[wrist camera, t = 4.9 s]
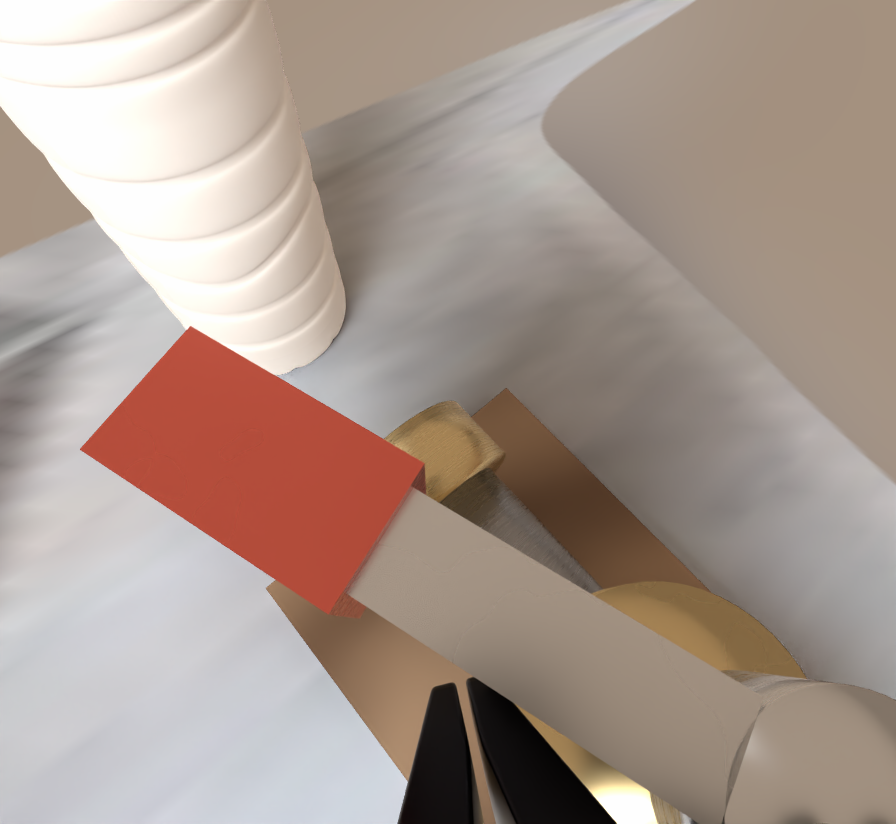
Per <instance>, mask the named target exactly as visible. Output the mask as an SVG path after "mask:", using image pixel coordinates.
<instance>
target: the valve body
mask: <svg viewBox="0 0 896 824" xmlns="http://www.w3.org/2000/svg"><path fill="white" fill-rule="evenodd" d="M384 440H386V441H388V442H389V443H391V444H393V445H394V446H396V447H398V448H399V449H401V450H403V451H405V452H406V453H408V454H410V455H411V456H413V457H415V458H416V459H418V460H420V461H422V462H423V463H425V479H426V495H427V496H428V497H430V498H432V499H433V500H435V501H437V502H438V503H440V504H442V505H443V506H445V507H447V508H448V509H450V510H452V511H453V512H455V513H457V514H458V515H460V516H462V517H463V518H465V519H467V520H468V521H470V522H472V523H473V524H475V525H477V526H478V527H480V528H482V529H483V530H485V531H487V532H488V533H490V534H492V535H493V536H495V537H497V538H499V539H500V540H502V541H504V542H505V543H507V544H509V545H510V546H512V547H514V548H515V549H517V550H519V551H520V552H522V553H524V554H525V555H527V556H529V557H530V558H532V559H534V560H535V561H537V562H539V563H540V564H542V565H544V566H545V567H547V568H549V569H550V570H552V571H554V572H555V573H557V574H559V575H560V576H562V577H564V578H565V579H567V580H569V581H570V582H572V583H574V584H575V585H577V586H579V587H580V588H582V589H584V590H585V591H587V592H589V593H590V594H592V595H594V596H595V597H597V598H599V599H600V600H602V601H604V602H605V603H607V604H609V605H611V606H612V607H614V608H616V609H617V610H619V611H621V612H622V613H624V614H626V615H627V616H629V617H631V618H632V619H634V620H636V621H637V622H639V623H641V624H642V625H644V626H646V627H647V628H649V629H651V630H652V631H654V632H656V633H657V634H659V635H661V636H662V637H664V638H666V639H667V640H669V641H671V642H672V643H674V644H676V645H677V646H679V647H681V648H682V649H684V650H686V651H687V652H689V653H691V654H692V655H694V656H696V657H697V658H699V659H701V660H702V661H704V662H706V663H707V664H709V665H711V666H712V667H714V668H716V669H717V670H719V671H723V670H741V671H751V672H758V673H765V674H773V675H780V676H787V677H795V678H802V679H807V678H806V677H805V675H804V673H803V672H802V670H801V668H800V667H799V666H798V664H797V663H796V662H795V660H794V659H793V657H792V656H791V655H790V653H789V652H788V651H787V650H786V648H785V647H784V646H783V645H782V644H781V643H780V642H779V641H778V640H777V639H776V637H775V636H774V635H773V634H772V633H771V632H770V631H768V630H767V629H766V628H765V627H764V626H763V625H762V624H761V623H759V622H758V621H757V620H756V619H755V618H753V617H752V616H751V615H749V614H748V613H746V612H745V611H744V610H742V609H741V608H739V607H738V606H736V605H734V604H732V603H731V602H729V601H727V600H725V599H723V598H722V597H720V596H717V595H715V594H712V593H710V592H707V591H705V590H702V589H699V588H696V587H692V586H688V585H684V584H679V583H671V582H664V581H646V582H638V583H631V584H625V585H620V586H616V587H612V588H607V589H603V588H602V587H601V586H600V585H599V584H598V583H597V581H596V580H595V579H594V578H593V577H592V576H591V575H590V574H589V573H588V572H587V571H586V570H585V569H584V568H583V567H582V566H581V564H580V563H579V562H578V561H577V560H576V559H575V558H574V557H573V556H572V555H571V554H570V553H569V552H568V551H567V550H566V548H565V547H564V546H563V545H562V544H561V543H560V542H559V541H558V540H557V539H556V538H555V537H554V536H553V535H552V534H551V532H550V531H549V530H548V529H547V528H546V527H545V526H544V525H543V524H542V523H541V522H540V521H539V520H538V519H537V518H536V517H535V515H534V514H533V513H532V512H531V511H530V510H529V509H528V508H527V507H526V506H525V505H524V504H523V503H522V502H521V501H520V499H519V498H518V497H517V496H516V495H515V494H514V493H513V492H512V491H511V490H510V489H509V488H508V487H507V486H506V485H505V484H504V482H503V481H502V480H501V479H500V478H499V477H498V476H497V475H496V474H495V472H496V471H497V470H498V469H499V467H500V466H501V464H502V463H503V461H504V459H505V457H506V453H505V452H504V451H503V450H502V449H501V448H500V447H499V446H498V445H497V444H496V443H495V442H494V441H493V440H492V439H491V438H490V437H489V435H488V434H487V433H486V432H485V431H484V430H483V429H482V428H481V427H480V426H479V425H478V424H477V423H476V422H475V421H474V420H473V419H472V418H471V417H470V416H469V415H468V414H467V413H466V411H465V410H464V409H463V408H462V407H461V406H460V405H459V404H458V403H457V402H455V401H445V402H441V403H439V404H436V405H434V406H432V407H430V408H427V409H426V410H424V411H422V412H420V413H419V414H417V415H416V416H414V417H412V418H411V419H409V420H408V421H406V422H405V423H404V424H402V425H401V426H400V427H398V428H397V429H396V430H394V431H393V432H392V433H390V434H389V435H388V436H387V437H386V438H384ZM514 704H515V703H514ZM515 705H516V704H515ZM516 706H517V707H518V708H519V709H520V711H521V712H522V713H523V714H524V715H525V716H526V718H527V719H528V720H529V721H530V722H531V723H532V724H533V726H534V727H535V728H536V729H537V730H538V731H539V733H540V734H541V735H542V736H543V737H544V738H545V740H546V741H547V742H548V743H549V744H550V745H551V747H552V748H553V749H554V750H555V751H556V752H557V754H558V755H559V756H560V757H561V758H562V759H563V761H564V762H565V763H566V764H567V765H568V766H569V768H570V769H571V770H572V771H573V772H574V773H575V775H576V776H577V777H578V778H579V779H580V780H581V782H582V783H583V784H584V785H585V786H586V787H587V788H588V790H589V791H590V792H591V793H592V794H593V795H594V797H595V798H596V799H597V800H598V801H599V802H600V804H601V805H602V806H603V807H604V808H605V809H606V811H607V812H608V813H609V814H610V815H611V816H612V818H613V819H614V820H615V821H616V822H617V823H618V824H658V823H657V820H656V818H655V814H654V811H653V807H652V803H651V798H650V792H649V791H648V790H647V789H645V788H644V787H642V786H640V785H639V784H637V783H636V782H634V781H633V780H631V779H630V778H628V777H627V776H625V775H624V774H622V773H621V772H619V771H617V770H616V769H614V768H613V767H611V766H610V765H608V764H607V763H605V762H604V761H602V760H601V759H599V758H598V757H596V756H594V755H593V754H591V753H590V752H588V751H587V750H585V749H584V748H582V747H581V746H579V745H578V744H576V743H575V742H573V741H571V740H570V739H568V738H567V737H565V736H564V735H562V734H561V733H559V732H558V731H556V730H555V729H553V728H552V727H550V726H549V725H547V724H545V723H544V722H542V721H541V720H539V719H538V718H536V717H535V716H533V715H532V714H530V713H529V712H527V711H526V710H524V709H522V708H521V707H519V706H518V705H516Z"/></svg>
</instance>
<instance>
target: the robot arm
mask: <svg viewBox="0 0 896 824" xmlns="http://www.w3.org/2000/svg"><path fill="white" fill-rule="evenodd" d="M466 687H467V693H468V698H469V704H470V709H471V714H472V719H473V724H474V729H475V733H476V738H477V742H478V747H479V751H480V756H481V760H482V765H483V769H484V774H485V778H486V783H487V787H488V792H489V796H490V801H491V805H492V809H493V813H494V817H495V821H496V824H618V823H617V822H616V821H615V820H614V819H613V818H612V816H611V815H610V814H609V813H608V812H607V811H606V809H605V808H604V807H603V806H602V805H601V804H600V802H599V801H598V800H597V799H596V798H595V797H594V795H593V794H592V793H591V792H590V791H589V790H588V788H587V787H586V786H585V785H584V784H583V783H582V782H581V780H580V779H579V778H578V777H577V776H576V775H575V773H574V772H573V771H572V770H571V769H570V768H569V766H568V765H567V764H566V763H565V762H564V761H563V759H562V758H561V757H560V756H559V755H558V754H557V752H556V751H555V750H554V749H553V748H552V747H551V745H550V744H549V743H548V742H547V741H546V740H545V738H544V737H543V736H542V735H541V734H540V733H539V731H538V730H537V729H536V728H535V727H534V726H533V724H532V723H531V722H530V721H529V720H528V719H527V718H526V716H525V715H524V714H523V713H522V712H521V711H520V709H519V708H518V707H517V706H516V705H515V704H514V703H513V702H512V701H510V700H509V699H507V698H506V697H504V696H503V695H501V694H499V693H498V692H496V691H495V690H493V689H492V688H490V687H489V686H487V685H486V684H484V683H483V682H481V681H480V680H478V679H476V678H475V677H471V678H468V679H467V680H466ZM397 824H484V820H483V814H482V809H481V804H480V798H479V793H478V788H477V783H476V778H475V772H474V767H473V762H472V757H471V752H470V747H469V741H468V736H467V732H466V727H465V723H464V718H463V714H462V709H461V705H460V700H459V696H458V691H457V687H456V684H455V683H453V682H451V683H447V684H443V685H439V686H435V687H433V688H432V690H431V692H430V696H429V700H428V704H427V708H426V712H425V716H424V720H423V724H422V728H421V732H420V736H419V740H418V744H417V748H416V752H415V756H414V760H413V764H412V768H411V772H410V776H409V780H408V784H407V788H406V792H405V796H404V800H403V804H402V808H401V812H400V816H399V819H398V823H397Z"/></svg>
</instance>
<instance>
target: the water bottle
mask: <svg viewBox="0 0 896 824" xmlns="http://www.w3.org/2000/svg"><path fill="white" fill-rule="evenodd" d="M0 106H1V108H2V109H3V110H4V111H5V113H6V114H7V115H8V116H9V117H10V119H11V120H12V121H13V122H14V123H15V124H16V126H17V127H18V128H19V129H20V130H21V131H22V133H23V134H24V135H25V136H26V137H27V138H28V139H29V140H30V141H31V142H32V143H33V144H34V145H35V146H36V147H37V148H38V149H39V150H40V151H41V152H43V153H44V155H45V157H46V158H47V160H48V162H49V163H50V165H51V166H52V167H53V169H54V170H55V172H56V173H57V174H58V176H59V177H60V178H61V179H62V181H63V182H64V183H65V184H66V186H67V187H68V188H69V189H70V190H71V192H72V193H73V194H74V195H75V196H76V197H77V198H78V199H79V201H80V202H81V203H82V204H83V205H84V206H85V207H86V208H87V209H88V210H90V211H91V213H92V215H93V216H94V218H95V220H96V221H97V223H98V224H99V225H100V227H101V228H102V229H103V230H104V231H105V233H106V234H107V235H108V236H109V237H110V238H111V239H112V240H113V241H114V242H115V243H116V244H117V245H118V246H119V247H120V249H121V250H122V252H123V253H124V255H125V256H126V257H127V259H128V260H129V261H130V263H131V264H132V265H133V266H134V268H135V269H136V270H137V271H138V272H139V274H140V275H141V276H142V277H143V278H144V279H145V280H146V281H147V282H148V283H149V285H150V286H151V287H153V288H154V289H155V291H156V292H157V294H158V295H159V297H160V298H161V300H162V301H163V302H164V304H165V305H166V306H167V307H168V309H169V310H170V311H171V312H172V313H173V314H174V315H175V316H176V317H177V318H178V319H179V320H180V322H181V323H182V325H183V326H184V328H185V329H186V330H187V329H188V328H189V327H190V326H192V327H193V328H195V329H197V330H198V331H200V332H202V333H204V334H205V335H207V336H209V337H210V338H212V339H214V340H215V341H217V342H219V343H221V344H222V345H224V346H226V347H227V348H229V349H231V350H233V351H234V352H236V353H238V354H239V355H241V356H243V357H244V358H246V359H248V360H250V361H251V362H253V363H255V364H256V365H258V366H260V367H261V368H263V369H265V370H267V371H268V372H270V373H272V374H273V375H280V374H285V373H288V372H290V371H292V370H293V369H294V368H297V367H303V366H305V365H307V364H309V363H311V362H312V361H314V360H315V359H316V358H318V357H319V356H320V355H321V354H322V353H324V352H325V351H326V350H327V348H328V347H329V346H330V344H331V342H332V340H333V338H335V337H336V336H337V334H338V333H339V331H340V329H341V326H342V324H343V320H344V316H345V311H346V299H345V290H344V286H343V282H342V279H341V274H340V270H339V267H338V264H337V261H336V258H335V256H334V251H333V246H332V242H331V238H330V234H329V231H328V228H327V225H326V223H325V220H324V213H323V208H322V204H321V200H320V196H319V193H318V190H317V187H316V185H315V182H314V180H313V179H312V167H311V163H310V158H309V155H308V151H307V148H306V145H305V142H304V140H303V138H302V135H301V130H300V123H299V118H298V114H297V109H296V105H295V102H294V98H293V95H292V91H291V88H290V85H289V82H288V80H287V77H286V75H285V73H284V71H283V61H282V55H281V50H280V45H279V42H278V37H277V33H276V29H275V26H274V22H273V19H272V15H271V12H270V9H269V6H268V3H267V0H0Z"/></svg>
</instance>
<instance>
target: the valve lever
mask: <svg viewBox="0 0 896 824" xmlns="http://www.w3.org/2000/svg"><path fill="white" fill-rule="evenodd" d="M80 450H81V451H83V452H84V453H86V454H87V455H89V456H90V457H92V458H93V459H95V460H96V461H98V462H99V463H101V464H102V465H104V466H106V467H107V468H109V469H110V470H112V471H113V472H115V473H116V474H118V475H119V476H121V477H122V478H124V479H125V480H127V481H128V482H130V483H131V484H133V485H134V486H136V487H137V488H139V489H140V490H142V491H143V492H145V493H146V494H148V495H149V496H151V497H152V498H154V499H155V500H157V501H158V502H160V503H161V504H163V505H164V506H166V507H167V508H169V509H170V510H172V511H173V512H175V513H176V514H178V515H179V516H181V517H182V518H184V519H185V520H187V521H188V522H190V523H191V524H193V525H194V526H196V527H197V528H199V529H200V530H202V531H203V532H205V533H206V534H208V535H209V536H211V537H212V538H214V539H215V540H217V541H218V542H220V543H221V544H223V545H224V546H226V547H227V548H229V549H230V550H232V551H233V552H235V553H236V554H238V555H239V556H241V557H242V558H244V559H245V560H247V561H248V562H250V563H251V564H253V565H254V566H256V567H257V568H259V569H260V570H262V571H263V572H265V573H266V574H268V575H269V576H271V577H272V578H274V579H275V580H277V581H278V582H280V583H281V584H283V585H284V586H286V587H287V588H289V589H290V590H292V591H293V592H295V593H296V594H298V595H299V596H301V597H302V598H304V599H306V600H307V601H309V602H310V603H312V604H313V605H315V606H316V607H318V608H319V609H321V610H322V611H324V612H325V613H327V614H328V615H335V616H343V617H351V618H359V619H360V617H361V616H362V614H363V612H364V611H365V609H366V608H367V607H368V608H369V609H371V610H372V611H374V612H375V613H377V614H378V615H380V616H382V617H383V618H385V619H386V620H388V621H389V622H391V623H392V624H394V625H395V626H397V627H398V628H400V629H401V630H403V631H404V632H406V633H408V634H409V635H411V636H412V637H414V638H415V639H417V640H418V641H420V642H421V643H423V644H424V645H426V646H427V647H429V648H431V649H432V650H434V651H435V652H437V653H438V654H440V655H441V656H443V657H444V658H446V659H447V660H449V661H450V662H452V663H454V664H455V665H457V666H458V667H460V668H461V669H463V670H464V671H466V672H467V673H469V674H470V675H472V676H473V677H475V678H476V679H478V680H480V681H481V682H483V683H484V684H486V685H487V686H489V687H490V688H492V689H493V690H495V691H496V692H498V693H499V694H501V695H503V696H504V697H506V698H507V699H509V700H510V701H512V702H513V703H515V704H516V705H518V706H519V707H521V708H522V709H524V710H526V711H527V712H529V713H530V714H532V715H533V716H535V717H536V718H538V719H539V720H541V721H542V722H544V723H545V724H547V725H549V726H550V727H552V728H553V729H555V730H556V731H558V732H559V733H561V734H562V735H564V736H565V737H567V738H568V739H570V740H571V741H573V742H575V743H576V744H578V745H579V746H581V747H582V748H584V749H585V750H587V751H588V752H590V753H591V754H593V755H594V756H596V757H598V758H599V759H601V760H602V761H604V762H605V763H607V764H608V765H610V766H611V767H613V768H614V769H616V770H617V771H619V772H621V773H622V774H624V775H625V776H627V777H628V778H630V779H631V780H633V781H634V782H636V783H637V784H639V785H640V786H642V787H644V788H645V789H647V790H648V791H649V792H650V798H651V803H652V807H653V811H654V814H655V818H656V820H657V823H658V824H896V700H894V699H892V698H890V697H888V696H886V695H883V694H880V693H878V692H875V691H872V690H869V689H865V688H861V687H857V686H852V685H846V684H838V683H831V682H824V681H816V680H809V679H802V678H795V677H787V676H780V675H773V674H765V673H758V672H751V671H741V670H723V671H719V670H717V669H716V668H714V667H712V666H711V665H709V664H707V663H706V662H704V661H702V660H701V659H699V658H697V657H696V656H694V655H692V654H691V653H689V652H687V651H686V650H684V649H682V648H681V647H679V646H677V645H676V644H674V643H672V642H671V641H669V640H667V639H666V638H664V637H662V636H661V635H659V634H657V633H656V632H654V631H652V630H651V629H649V628H647V627H646V626H644V625H642V624H641V623H639V622H637V621H636V620H634V619H632V618H631V617H629V616H627V615H626V614H624V613H622V612H621V611H619V610H617V609H616V608H614V607H612V606H611V605H609V604H607V603H605V602H604V601H602V600H600V599H599V598H597V597H595V596H594V595H592V594H590V593H589V592H587V591H585V590H584V589H582V588H580V587H579V586H577V585H575V584H574V583H572V582H570V581H569V580H567V579H565V578H564V577H562V576H560V575H559V574H557V573H555V572H554V571H552V570H550V569H549V568H547V567H545V566H544V565H542V564H540V563H539V562H537V561H535V560H534V559H532V558H530V557H529V556H527V555H525V554H524V553H522V552H520V551H519V550H517V549H515V548H514V547H512V546H510V545H509V544H507V543H505V542H504V541H502V540H500V539H499V538H497V537H495V536H493V535H492V534H490V533H488V532H487V531H485V530H483V529H482V528H480V527H478V526H477V525H475V524H473V523H472V522H470V521H468V520H467V519H465V518H463V517H462V516H460V515H458V514H457V513H455V512H453V511H452V510H450V509H448V508H447V507H445V506H443V505H442V504H440V503H438V502H437V501H435V500H433V499H432V498H430V497H428V496H427V495H426V479H425V463H423V462H422V461H420V460H418V459H416V458H415V457H413V456H411V455H410V454H408V453H406V452H405V451H403V450H401V449H399V448H398V447H396V446H394V445H393V444H391V443H389V442H388V441H386V440H384V439H382V438H381V437H379V436H377V435H376V434H374V433H372V432H370V431H369V430H367V429H365V428H364V427H362V426H360V425H359V424H357V423H355V422H353V421H352V420H350V419H348V418H347V417H345V416H343V415H342V414H340V413H338V412H336V411H335V410H333V409H331V408H330V407H328V406H326V405H324V404H323V403H321V402H319V401H318V400H316V399H314V398H313V397H311V396H309V395H307V394H306V393H304V392H302V391H301V390H299V389H297V388H296V387H294V386H292V385H290V384H289V383H287V382H285V381H284V380H282V379H280V378H279V377H277V376H275V375H273V374H272V373H270V372H268V371H267V370H265V369H263V368H261V367H260V366H258V365H256V364H255V363H253V362H251V361H250V360H248V359H246V358H244V357H243V356H241V355H239V354H238V353H236V352H234V351H233V350H231V349H229V348H227V347H226V346H224V345H222V344H221V343H219V342H217V341H215V340H214V339H212V338H210V337H209V336H207V335H205V334H204V333H202V332H200V331H198V330H197V329H195V328H193V327H192V326H190V327H189V328H188V329H187V330H186V331H185V332H184V334H183V335H182V336H181V337H180V338H179V339H178V340H177V341H176V342H175V344H174V345H173V346H172V347H171V348H170V349H169V350H168V351H167V353H166V354H165V355H164V356H163V357H162V358H161V359H160V360H159V361H158V363H157V364H156V365H155V366H154V367H153V368H152V369H151V370H150V371H149V373H148V374H147V375H146V376H145V377H144V378H143V379H142V380H141V382H140V383H139V384H138V385H137V386H136V387H135V388H134V389H133V390H132V392H131V393H130V394H129V395H128V396H127V397H126V398H125V399H124V401H123V402H122V403H121V404H120V405H119V406H118V407H117V408H116V409H115V411H114V412H113V413H112V414H111V415H110V416H109V417H108V418H107V419H106V421H105V422H104V423H103V424H102V425H101V426H100V427H99V428H98V430H97V431H96V432H95V433H94V434H93V435H92V436H91V437H90V438H89V440H88V441H87V442H86V443H85V444H84V445H83V446H82V447H81V449H80Z"/></svg>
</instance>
